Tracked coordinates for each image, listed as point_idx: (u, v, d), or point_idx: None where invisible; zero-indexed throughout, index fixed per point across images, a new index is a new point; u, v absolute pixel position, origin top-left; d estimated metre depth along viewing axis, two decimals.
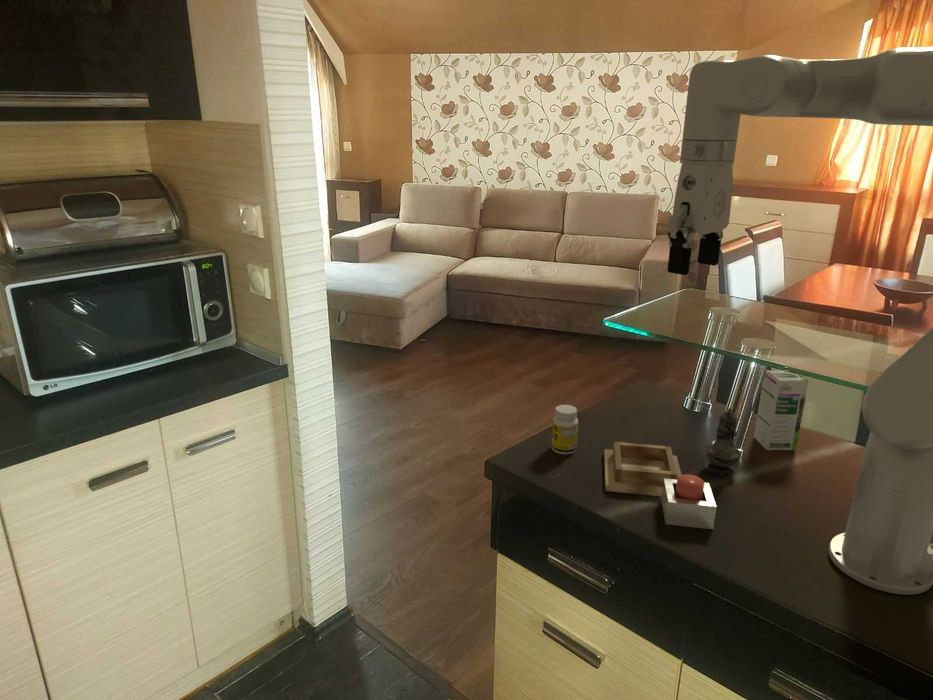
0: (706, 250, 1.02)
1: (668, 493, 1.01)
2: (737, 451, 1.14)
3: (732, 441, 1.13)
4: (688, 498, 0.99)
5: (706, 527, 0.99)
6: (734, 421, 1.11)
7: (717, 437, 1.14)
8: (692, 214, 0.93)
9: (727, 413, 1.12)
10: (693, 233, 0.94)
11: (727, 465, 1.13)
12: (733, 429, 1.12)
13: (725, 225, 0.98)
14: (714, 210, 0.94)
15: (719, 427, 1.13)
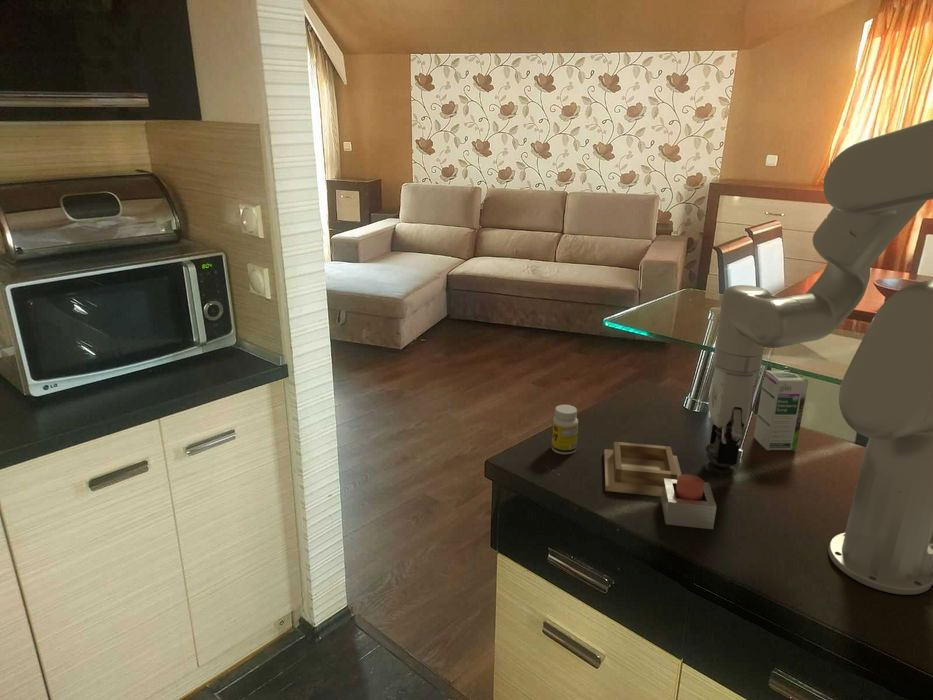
0: None
1: (668, 493, 1.01)
2: None
3: None
4: (688, 498, 0.99)
5: (706, 527, 0.99)
6: None
7: (717, 437, 1.14)
8: None
9: None
10: None
11: (727, 465, 1.13)
12: None
13: (715, 422, 1.10)
14: (712, 397, 1.13)
15: None
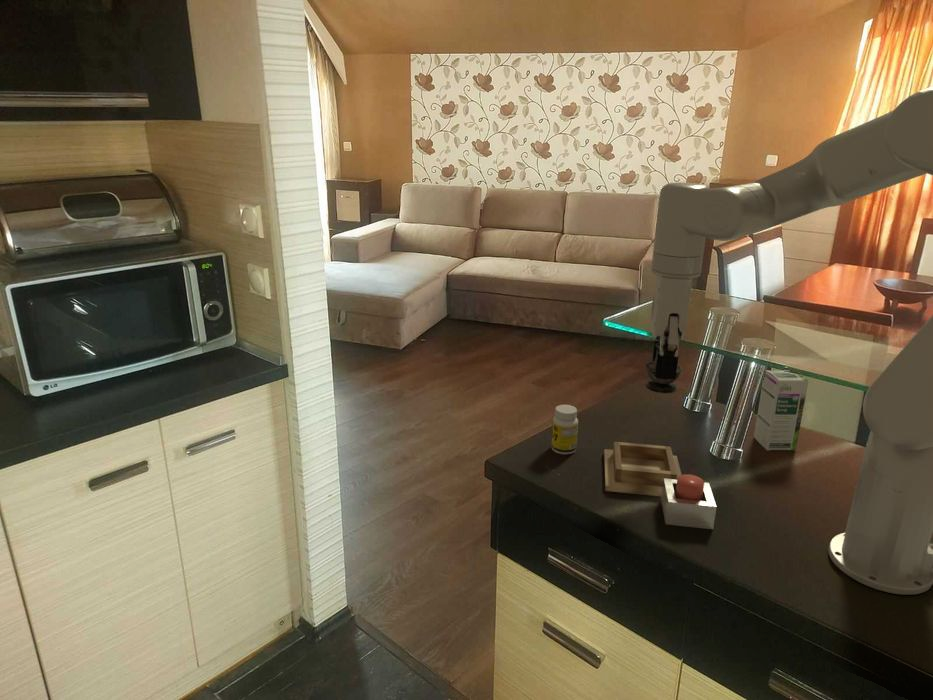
0: None
1: (668, 493, 1.01)
2: (679, 367, 1.07)
3: None
4: (688, 498, 0.99)
5: (706, 527, 0.99)
6: None
7: (657, 351, 1.06)
8: None
9: None
10: None
11: (667, 381, 1.06)
12: None
13: (652, 332, 1.03)
14: (652, 308, 1.06)
15: (659, 340, 1.06)
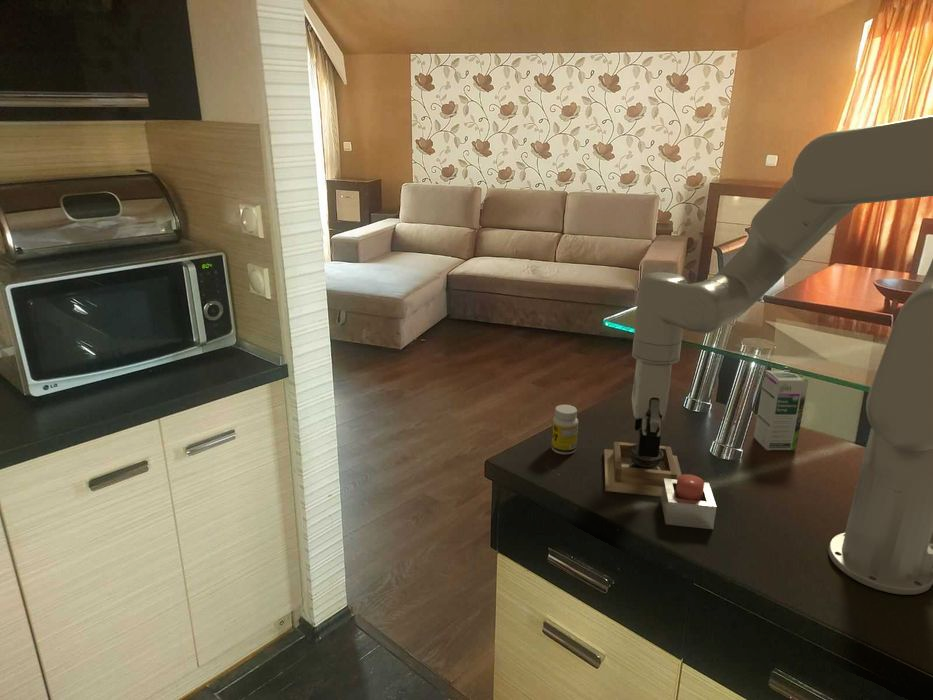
0: None
1: (668, 493, 1.01)
2: (660, 452, 1.12)
3: None
4: (688, 498, 0.99)
5: (706, 527, 0.99)
6: None
7: (639, 437, 1.11)
8: None
9: None
10: None
11: (649, 466, 1.10)
12: None
13: (634, 413, 1.07)
14: (633, 388, 1.10)
15: (641, 427, 1.10)
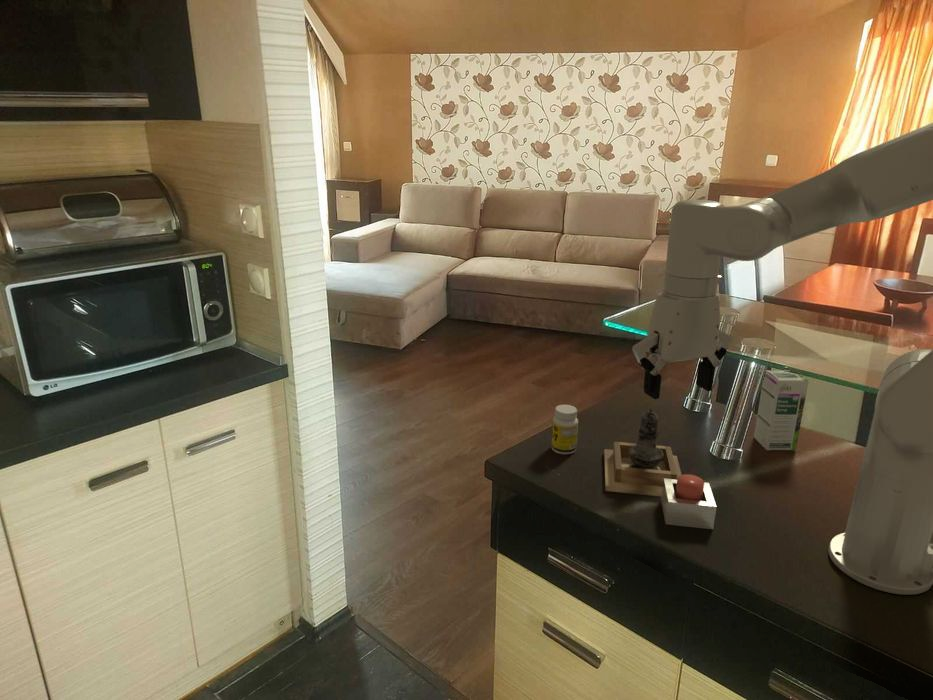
0: None
1: (668, 493, 1.01)
2: (660, 452, 1.12)
3: (654, 442, 1.10)
4: (688, 498, 0.99)
5: (706, 527, 0.99)
6: (655, 421, 1.09)
7: (639, 438, 1.11)
8: None
9: (648, 413, 1.09)
10: None
11: (649, 466, 1.10)
12: (654, 429, 1.09)
13: (654, 348, 1.01)
14: None
15: (640, 427, 1.10)
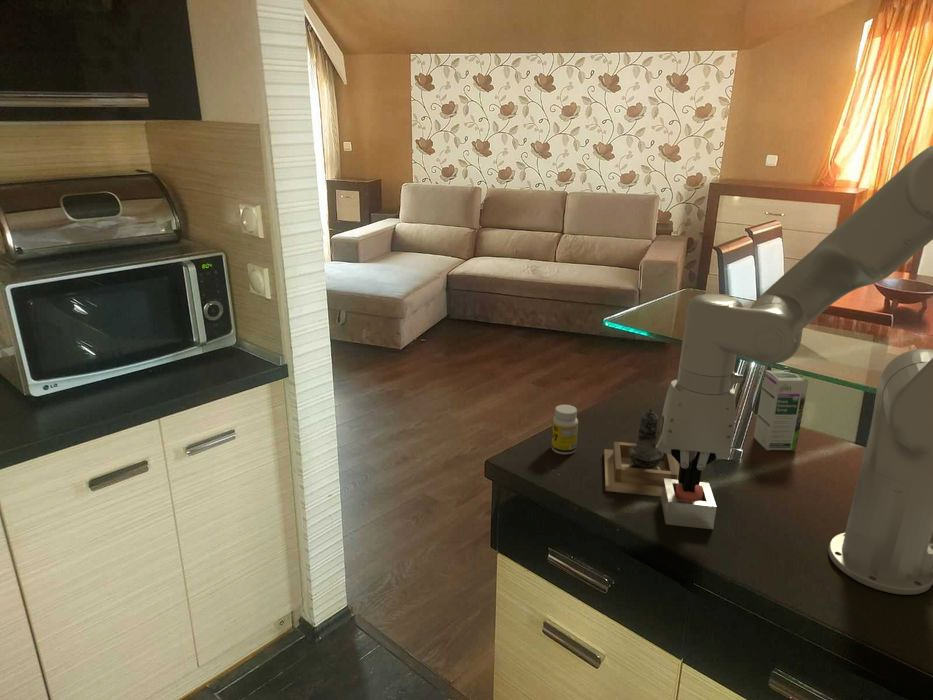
0: None
1: (668, 493, 1.01)
2: (660, 452, 1.12)
3: (654, 442, 1.10)
4: None
5: (706, 527, 0.99)
6: (655, 421, 1.09)
7: (639, 438, 1.11)
8: None
9: (648, 413, 1.09)
10: None
11: (649, 466, 1.10)
12: (654, 429, 1.09)
13: None
14: None
15: (640, 427, 1.10)
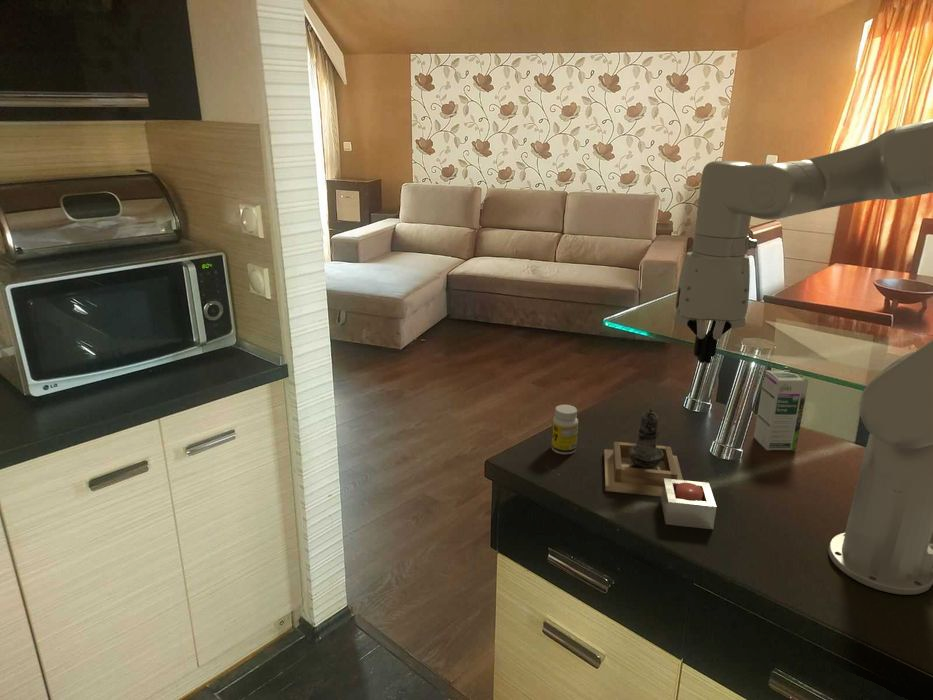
0: None
1: (668, 493, 1.01)
2: (660, 452, 1.12)
3: (654, 442, 1.10)
4: None
5: (706, 527, 0.99)
6: (655, 421, 1.09)
7: (639, 438, 1.11)
8: None
9: (648, 413, 1.09)
10: None
11: (649, 466, 1.10)
12: (654, 430, 1.09)
13: None
14: None
15: (640, 427, 1.10)
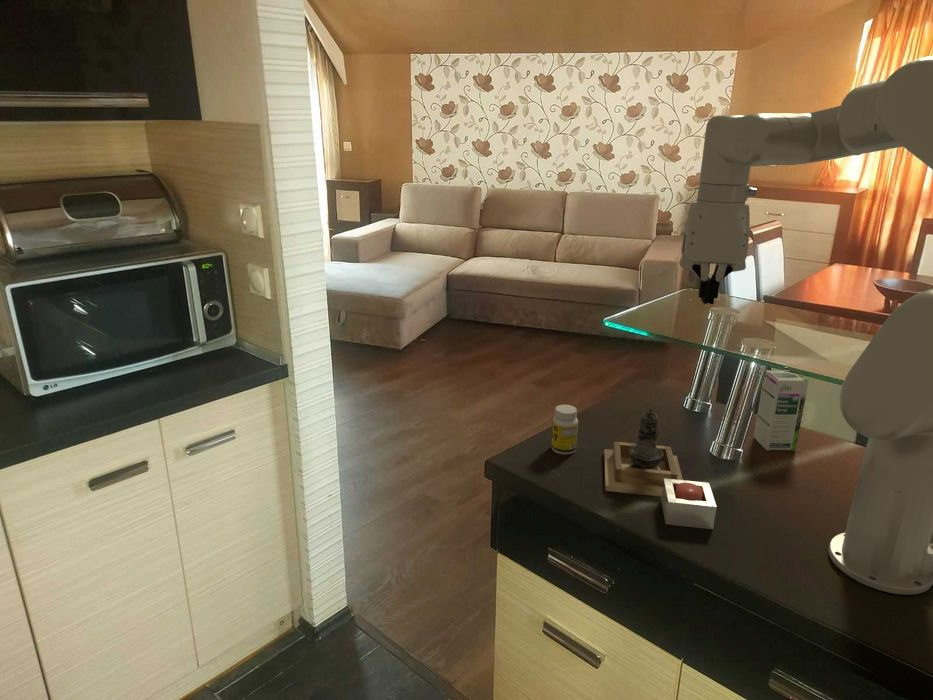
0: None
1: (668, 493, 1.01)
2: (660, 452, 1.12)
3: (654, 442, 1.10)
4: None
5: (706, 527, 0.99)
6: (655, 421, 1.09)
7: (639, 438, 1.11)
8: None
9: (648, 413, 1.09)
10: None
11: (649, 466, 1.10)
12: (654, 430, 1.09)
13: None
14: None
15: (640, 427, 1.10)
